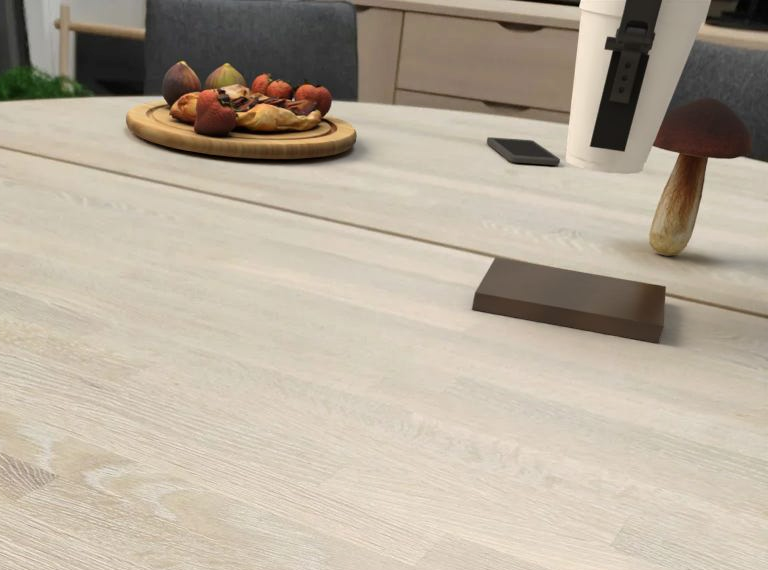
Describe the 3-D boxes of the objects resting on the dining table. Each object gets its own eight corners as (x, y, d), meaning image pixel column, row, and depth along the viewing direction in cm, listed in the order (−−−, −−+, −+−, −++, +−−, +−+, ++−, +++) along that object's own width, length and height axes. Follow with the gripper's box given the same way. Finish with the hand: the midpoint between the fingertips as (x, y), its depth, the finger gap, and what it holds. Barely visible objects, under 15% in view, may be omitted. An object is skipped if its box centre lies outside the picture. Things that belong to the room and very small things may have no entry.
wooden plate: (282, 177, 122) (287, 101, 117) (77, 132, 133) (74, 61, 128) (392, 143, 144) (401, 78, 140) (209, 107, 156) (211, 46, 151)
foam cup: (642, 184, 78) (697, -14, 70) (531, 162, 81) (571, -29, 73) (672, 167, 84) (725, -15, 77) (568, 147, 88) (609, -29, 80)
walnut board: (661, 302, 93) (666, 286, 92) (658, 343, 84) (664, 325, 83) (492, 273, 96) (495, 257, 95) (471, 309, 87) (474, 292, 86)
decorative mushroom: (671, 274, 101) (722, 109, 92) (591, 244, 108) (630, 88, 99) (738, 264, 106) (791, 107, 97) (657, 236, 113) (700, 87, 104)
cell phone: (531, 145, 151) (532, 139, 151) (560, 165, 140) (562, 160, 140) (485, 142, 150) (486, 136, 150) (510, 162, 139) (511, 156, 139)
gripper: (649, -208, 77) (576, 113, 91) (640, -248, 60) (551, 154, 74) (749, -201, 76) (659, 124, 89) (769, -239, 59) (654, 169, 72)
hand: (610, 138), depth 82 cm, fingers closed on foam cup, 9 cm apart
